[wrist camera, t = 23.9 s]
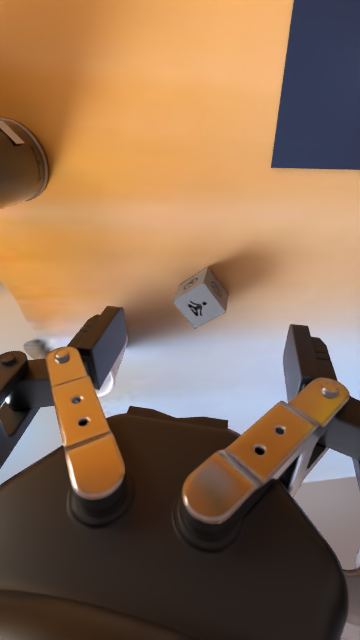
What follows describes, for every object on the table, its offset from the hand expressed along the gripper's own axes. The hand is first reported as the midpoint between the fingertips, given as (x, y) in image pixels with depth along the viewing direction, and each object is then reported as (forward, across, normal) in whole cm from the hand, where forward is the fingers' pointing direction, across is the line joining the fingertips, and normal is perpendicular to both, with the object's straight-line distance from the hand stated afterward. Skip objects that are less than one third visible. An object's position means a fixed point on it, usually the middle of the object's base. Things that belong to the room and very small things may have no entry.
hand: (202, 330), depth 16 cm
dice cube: (+28, +3, +12) cm, 31 cm away
